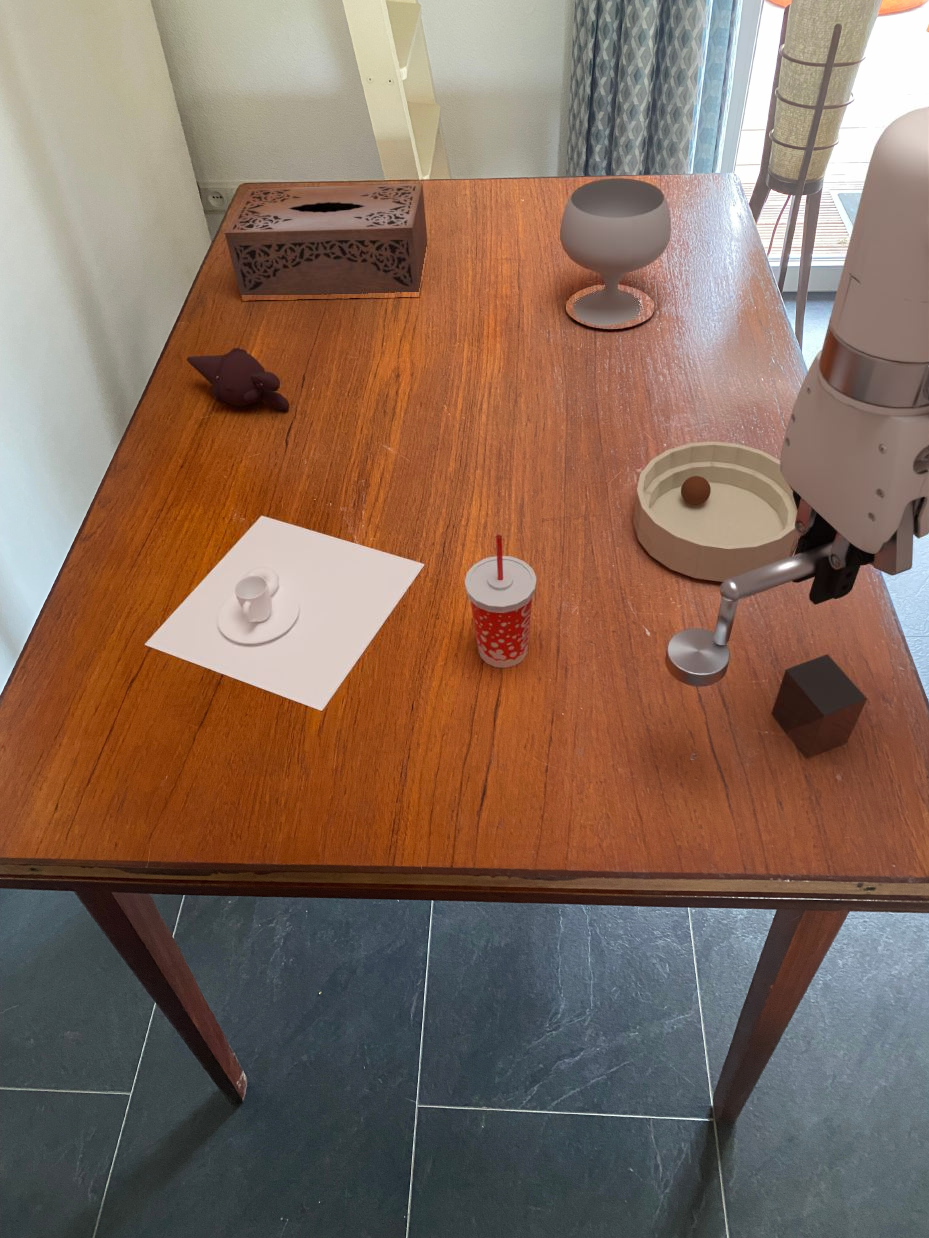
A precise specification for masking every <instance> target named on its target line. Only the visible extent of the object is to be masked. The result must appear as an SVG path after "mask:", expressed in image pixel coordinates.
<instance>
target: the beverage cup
mask: <svg viewBox="0 0 929 1238" xmlns="http://www.w3.org/2000/svg"><path fill="white" fill-rule="evenodd" d="M495 547H496V555H495V556H490V557H486V558H485V557H484V558H483V559H481V560H479V561H477V562H476V563H474V564H473V565H472V566H471V567H470V569H469V570H467V572H466V575H465V578H464V579H465V580H464V587H465V592H466V595H467V598H468V600H469V601H470V608H471V615H472V619H473V627H474V631H475V632H474V633H475V638H476V645H477V651H478V654H479V657H480V658H481V660H483V662H485V664H487V665H490V666H492V667H494V668H502V669H506V668H511V667H515V666H516V665H518V664H520V663H521V662H523V660H524V659H525V658H526V656H527V655H528V649H529V642H530V641H529V640H530V628H531V616H532V606H533V605H532V604H533V597H534V596H535V595H536V589H537V576H536V573H535V571H534V568H532V566H530V565H529V564H528V563H527V562H525V560H521V559H519V558H517V557H514V556H511V555H510V556H509V555H503V537H502V535H501V534H497V535H495Z"/></svg>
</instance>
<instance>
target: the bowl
mask: <svg viewBox="0 0 929 1238" xmlns="http://www.w3.org/2000/svg"><path fill="white" fill-rule="evenodd" d="M693 476H700V477H703V478H704V479H706V480H707V481H708V483H709V484H710V488H711V493H710V496H709V498H708V499H707V500H706V501H705V502H704V503H702V504H700V505H691V504H688V503H687V502H685V501H684V499H683V498H682V495H681V487H682V485H683V483H684V482H685V480H687V479H688V478H690V477H693ZM797 512H798V511H797V508H796V504H795V501H794V498H793V490H791V488H790V486H789V485H788V483H787V482H786V480H785V479H784V477H783V476H782V473H781V471H780V459H778V458H777V457H774V455H773V456H772V454H769V453H768V452H765V450H764V451H763V450H761V449H757V448H754V447H751V446H747V445H744V444H740V443H735V442H734V443H733V442H726V441H725V442H724V441H715V440H711V441H699V442H689V443H685V444H683V445H679V446H675V447H673V448H670V449H666V450H665V451H663V452H661V453H660V454H659V455H657V456H655V457H653V458H652V459H651V460H649V462H648V463H647V465H646V466H644V468H643V470H642V471H641V472H640V474H639V478H638V481H637V487H636V494H635V503H634V511H633V521H632V524H633V527H634V530H635V534H636V538H637V541H638V542H639V543H640V544H641V545H642V547H643V549H645V551H646V552H647V553H648V555H649V556H650V557H652V558H653V559H655V560H656V561H658V562H659V563H660V564H662V565H663V566H664V567H667V568H668V569H669V570H672V571H674V572H677V573H680V574H682V575H685V576H688V577H691V578H693V579H699V580H707V581H713V582H719V583H720V582H721V583H723V582H724V581H725V580H726V579H729V578H732V577H734V576H737V575H740V574H743V573H746V572H748V571H751V570H754V569H757V568H760V567H763V566H765V565H768V564H771V563H774V562H777V561H779V560H782V559H785V558H788V557H791V556H792V554H793V551H795V550H794V549H796V547H797V544H798V540H799V538H800V535H799V534H798V533H797V531H796V529H795V520H796V516H797Z"/></svg>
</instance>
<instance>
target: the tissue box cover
mask: <svg viewBox="0 0 929 1238" xmlns="http://www.w3.org/2000/svg"><path fill="white" fill-rule="evenodd" d="M232 216H233V217H232V218H231V220H230V222H229V224H228V226H227V228H226V230H225V231H224V235H225V236H224V237H225V240H226V244H227V248H228V251H229V255H230V259H231V264H232V268H233V272H234V275H235V280H236V283H237V287H238V291H239V295H240V296H241V295H322V294H323V295H327V294H329V295H331V294H362V293H363V294H366V293H367V294H368V293H389V292H390V293H395V292H400V293H401V292H419V288H420V282H421V276H422V270H423V264H424V258H425V253H426V247H427V241H428V232H427V219H426V208H425V198H424V187H423V182H413V183H412V182H407V183H406V182H404V183H374V184H373V183H372V184H346V185H345V184H344V185H342V184H341V185H339V184H338V185H311V186H280V187H279V186H278V187H277V186H276V187H250V188H247V190H246V191H245V194H244V195H243V197H242V199H241V201H240V203H239V205H238V206H237V209H236V210H235V213H234V214H233V215H232Z"/></svg>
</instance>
